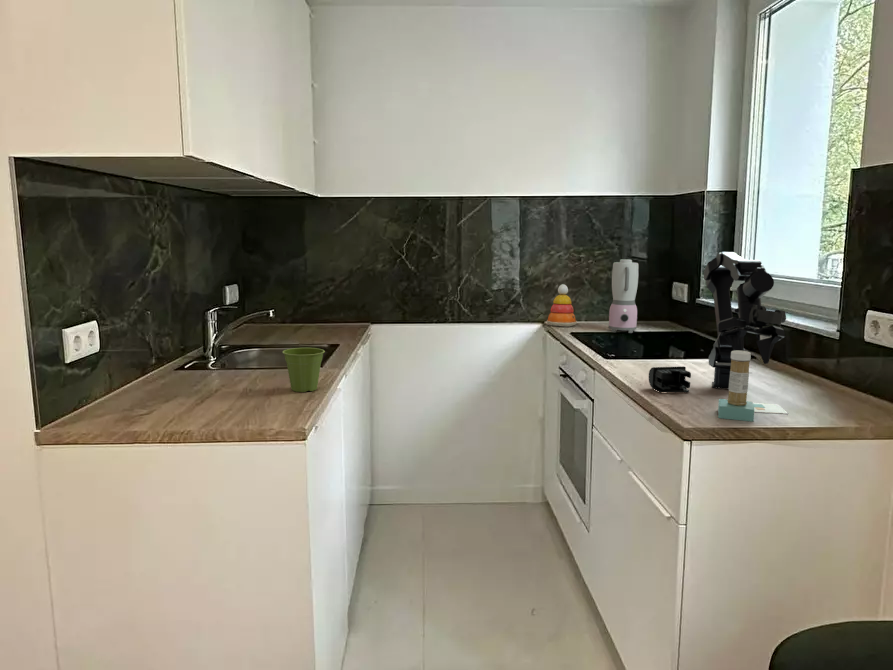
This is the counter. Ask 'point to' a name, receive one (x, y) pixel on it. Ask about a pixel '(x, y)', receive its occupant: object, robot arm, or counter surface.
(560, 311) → the stacking toy
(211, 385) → the counter surface
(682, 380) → the end cap
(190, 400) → the counter surface
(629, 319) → the blender
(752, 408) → the brick
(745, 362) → the sprinkles bottle
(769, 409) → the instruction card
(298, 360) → the plant pot
